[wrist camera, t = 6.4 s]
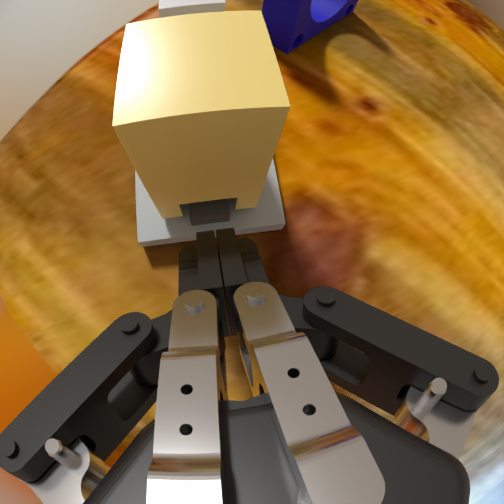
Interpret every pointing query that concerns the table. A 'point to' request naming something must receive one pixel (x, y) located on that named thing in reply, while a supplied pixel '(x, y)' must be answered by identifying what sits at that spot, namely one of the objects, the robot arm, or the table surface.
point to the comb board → (180, 224)
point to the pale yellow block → (200, 107)
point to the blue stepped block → (301, 19)
